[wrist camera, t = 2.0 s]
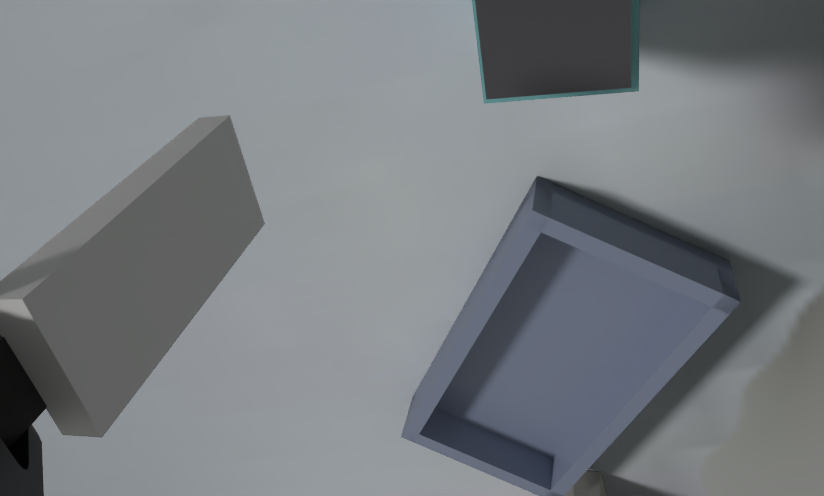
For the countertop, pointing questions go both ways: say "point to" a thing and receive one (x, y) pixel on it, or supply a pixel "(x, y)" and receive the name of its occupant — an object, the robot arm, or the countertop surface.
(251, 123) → the countertop surface
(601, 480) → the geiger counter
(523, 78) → the teal-edged grey panel
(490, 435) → the tray
